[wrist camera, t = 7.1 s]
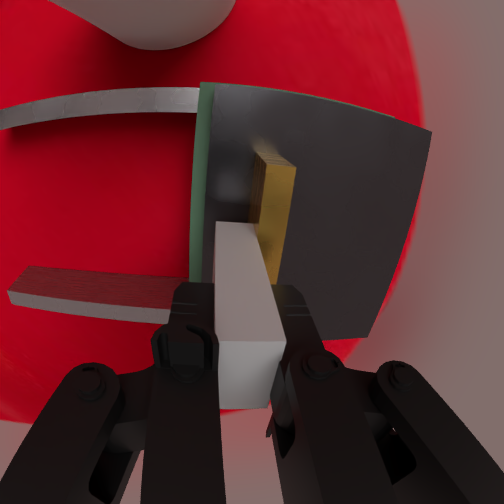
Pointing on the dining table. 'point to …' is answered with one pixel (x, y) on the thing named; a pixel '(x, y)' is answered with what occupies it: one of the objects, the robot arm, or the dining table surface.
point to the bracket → (87, 282)
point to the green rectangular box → (201, 172)
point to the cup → (152, 19)
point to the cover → (315, 196)
